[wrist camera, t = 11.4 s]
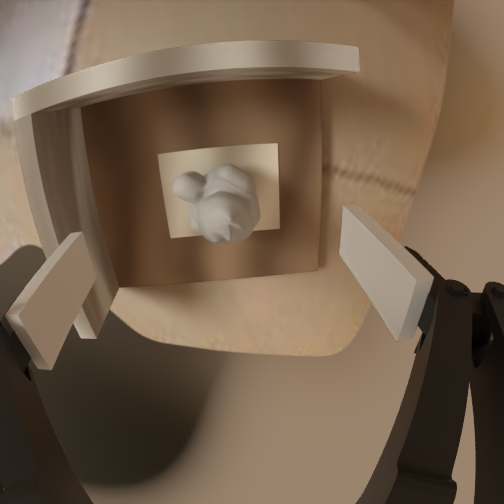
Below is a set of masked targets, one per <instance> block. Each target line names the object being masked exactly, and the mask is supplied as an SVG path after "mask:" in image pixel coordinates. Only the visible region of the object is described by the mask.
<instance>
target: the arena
mask: <svg viewBox="0 0 504 504" xmlns="http://www.w3.org/2000/svg"><path fill="white" fill-rule="evenodd" d="M357 72H360V66H359V49H358V47H355V46H348V45H340V44H330V43H319V42H305V41H279V40H260V41H233V42H219V43H208V44H198V45H190V46H183V47H176V48H170V49H164V50H158V51H153V52H148V53H143V54H138V55H134V56H130V57H125V58H121V59H117V60H114V61H110V62H106V63H103V64H99V65H96V66H93V67H89V68H86V69H83V70H80V71H77V72H74V73H71V74H68V75H66V76H63V77H60V78H58V79H55V80H52V81H50V82H47V83H45V84H42V85H40V86H38V87H35V88H33V89H31V90H29V91H26V92H24V93H22V94H20V95H18V96H16V97H14V98H12V105H13V116H14V125H15V133H16V141H17V147H18V153H19V159H20V165H21V170H22V175H23V179H24V184H25V188H26V193H27V197H28V201H29V205H30V208H31V212H32V216H33V219H34V223H35V226H36V229H37V233H38V236H39V239H40V242H41V245H42V248H43V251H44V254H45V256H46V259H48V258H49V257H50V256H51V255H52V254H53V252H54V251H55V250H56V249H57V248H58V247H59V245H60V244H61V243H62V242H63V241H64V240H65V239H66V238H67V237H68V235H69V234H70V233H75V232H83V235H84V239H85V242H86V245H87V248H88V252H89V255H90V258H91V261H92V264H93V267H94V270H95V273H96V276H97V278H96V280H95V282H94V284H93V285H92V287H91V289H90V291H89V293H88V295H87V297H86V298H85V300H84V302H83V304H82V306H81V308H80V310H79V312H78V314H77V316H76V318H75V320H74V322H73V323H74V325H75V327H76V329H77V331H78V333H79V335H80V337H81V338H93V339H96V338H97V336H98V334H99V332H100V329H101V327H102V325H103V322H104V320H105V318H106V315H107V313H108V311H109V309H110V307H111V304H112V302H113V300H114V298H115V296H116V294H117V291H118V289H119V287H134V286H148V285H163V284H176V283H189V282H202V281H214V280H226V279H237V278H248V277H259V276H270V275H280V274H290V273H300V272H310V271H318V259H319V241H320V221H321V191H322V104H321V80H322V79H327V78H331V77H336V76H341V75H346V74H351V73H357ZM227 163H230V164H233V165H235V166H237V167H238V168H240V169H242V170H243V171H245V172H246V173H248V175H249V176H250V177H251V178H252V180H253V182H254V183H255V186H256V194H257V197H258V201H259V207H260V220H259V222H258V223H257V225H256V226H255V227H254V230H253V232H252V234H251V235H250V236H249V237H248V238H246V239H244V240H242V241H239V242H235V243H230V244H225V245H218V244H215V243H212V242H210V241H209V240H207V239H206V238H204V236H203V235H201V234H199V233H197V232H195V231H194V230H192V229H191V227H190V223H189V215H190V212H189V205H190V202H186V201H184V200H182V199H180V198H178V197H176V196H175V195H174V193H173V189H172V187H173V183H174V180H175V179H176V178H177V177H178V176H180V175H182V174H183V173H185V172H189V171H195V172H198V173H199V174H201V175H202V176H204V175H205V174H207V173H208V172H210V171H211V170H213V169H216V168H218V167H219V166H221V165H223V164H227Z"/></svg>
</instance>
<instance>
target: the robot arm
mask: <svg viewBox="0 0 504 504" xmlns="http://www.w3.org/2000/svg"><path fill="white" fill-rule="evenodd" d="M339 255H340V256H341V258H342V259H343V261H344V262H345V263H346V265H347V266H348V268H349V269H350V271H351V272H352V274H353V275H354V277H355V278H356V279H357V281H358V282H359V284H360V285H361V287H362V288H363V290H364V291H365V293H366V294H367V296H368V297H369V299H370V300H371V302H372V303H373V305H374V307H375V308H376V310H377V311H378V313H379V314H380V316H381V317H382V319H383V320H384V322H385V324H386V325H387V327H388V329H389V330H390V332H391V333H392V335H393V336H394V338H395V340H396V341H397V342H398V341H402V340H405V339H409V338H413V336H414V334H415V331H416V329H417V326H419V328H420V329H421V331H422V332H423V333H422V335H421V338H420V340H419V342H418V345H417V347H416V349H415V352H414V353H416V356H415V360H414V364H413V368H412V371H411V375H410V378H409V381H408V385H407V388H406V391H405V394H404V398H403V400H402V403H401V406H400V409H399V412H398V415H397V418H396V420H395V423H394V426H393V428H392V431H391V433H390V436H389V438H388V441H387V443H386V446H385V448H384V450H383V453H382V455H381V457H380V459H379V461H378V464H377V466H376V468H375V470H374V472H373V474H372V477H371V479H370V480H369V482H368V484H367V486H366V488H365V490H364V492H363V494H362V495H361V497H360V498H359V500H358V501H357V503H356V504H453V503H454V500H455V496H456V491H457V484H456V482H455V481H454V480H452V476H451V475H452V470H453V467H454V463H455V459H456V455H457V451H458V447H459V442H460V437H461V433H462V428H463V422H464V416H465V410H466V404H467V396H468V388H469V382H470V389H471V396H472V405H473V414H474V427H475V447H476V448H475V449H476V475H475V497H474V504H504V285H503V284H500V283H497V282H488V283H486V285H485V287H484V290H483V292H482V293H472V292H470V290H469V288H468V287H467V286H465V285H464V284H463V283H461V282H459V281H456V280H445V279H444V278H443V277H442V276H441V275H440V274H439V273H438V272H437V271H436V270H435V269H434V268H433V267H432V266H431V265H428V263H427V261H426V260H424V259H423V258H422V257H421V256H420V255H419V254H418V253H417V252H416V251H414V250H412V249H410V248H408V247H407V246H405V247H403V246H402V245H401V244H400V243H399V242H398V241H397V240H396V239H395V238H394V237H393V236H392V235H390V234H389V233H388V232H387V231H386V230H385V229H384V228H383V227H382V226H381V225H380V224H378V223H377V222H376V221H375V220H374V219H373V218H372V217H371V216H369V215H368V214H367V213H366V212H365V211H364V210H363V209H361V208H360V207H359V206H358V205H343V216H342V228H341V240H340V250H339ZM96 278H97V276H96V273H95V270H94V267H93V264H92V261H91V258H90V255H89V252H88V248H87V245H86V242H85V239H84V235H83V232H75V233H70V234H69V235H68V237H67V238H66V239H65V240H64V241H63V242H62V243H61V244H60V245H59V247H58V248H57V249H56V250H55V251H54V252H53V254H52V255H51V256H50V257H49V258H48V259H47V261H46V262H45V263H44V264H43V265H42V267H41V268H40V269H39V270H38V272H37V273H36V274H35V275H34V277H33V278H32V279H31V280H30V282H29V283H28V284H27V286H26V287H25V288H24V289H23V290H22V291H21V293H20V294H19V295H18V298H16V299H15V301H14V302H13V304H12V305H11V306H10V308H9V309H8V310H7V312H6V313H5V315H4V316H3V318H2V319H1V321H0V504H93V502H92V501H91V499H90V498H89V496H88V495H87V493H86V492H85V490H84V488H83V487H82V485H81V483H80V481H79V479H78V478H77V476H76V475H75V472H74V471H73V469H72V467H71V465H70V463H69V461H68V459H67V457H66V455H65V453H64V451H63V449H62V447H61V445H60V443H59V441H58V438H57V436H56V434H55V432H54V429H53V427H52V425H51V422H50V420H49V417H48V415H47V412H46V410H45V408H44V405H43V402H42V399H41V396H40V394H39V391H38V388H37V385H36V382H35V379H34V376H33V372H32V370H31V369H30V367H29V366H28V363H29V361H30V359H32V361H33V362H34V363H35V365H36V366H37V368H38V369H47V370H52V368H53V366H54V363H55V361H56V359H57V356H58V354H59V352H60V350H61V347H62V345H63V343H64V341H65V339H66V336H67V334H68V332H69V330H70V328H71V326H72V324H73V322H74V320H75V318H76V316H77V314H78V312H79V310H80V308H81V306H82V304H83V302H84V300H85V298H86V297H87V295H88V293H89V291H90V289H91V287H92V285H93V284H94V282H95V280H96ZM492 338H493V340H492ZM3 488H4V490H3Z"/></svg>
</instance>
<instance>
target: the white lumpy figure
mask: <svg viewBox="0 0 504 504" xmlns="http://www.w3.org/2000/svg"><path fill="white" fill-rule="evenodd" d="M172 189H173V193H174V195H175V196H176V197H178V198H180V199H182V200H184V201H186V202H190V205H189V212H190V215H189V223H190V227H191V229H192V230H194V231H195V232H197V233H199V234H201V235H203V236H204V238H206V239H207V240H209V241H210V242H212V243H215V244H218V245H225V244H230V243H235V242H239V241H242V240H244V239H246V238H248V237H249V236H250V235H251V234H252V232H253V230H254V227H255V226H256V225H257V223H258V222H259V220H260V207H259V201H258V197H257V194H256V186H255V183H254V182H253V180H252V178H251V177H250V176H249V175H248V173H246V172H245V171H243V170H242V169H240V168H238V167H237V166H235V165H233V164H230V163H227V164H223V165H221V166H219V167H218V168H216V169H213V170H211V171H210V172H208V173H207V174H205V175H204V176H202V175H201V174H199V173H198V172H195V171H189V172H185V173H183V174H182V175H180V176H178V177H177V178H176V179H175V180H174V183H173V187H172Z"/></svg>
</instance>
